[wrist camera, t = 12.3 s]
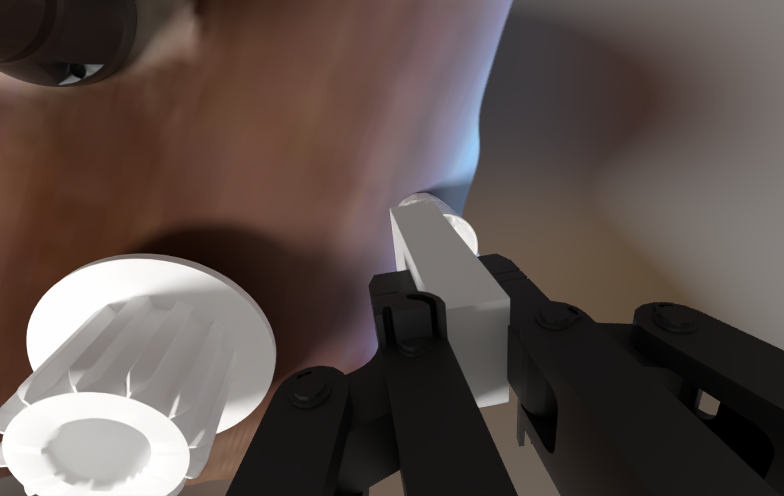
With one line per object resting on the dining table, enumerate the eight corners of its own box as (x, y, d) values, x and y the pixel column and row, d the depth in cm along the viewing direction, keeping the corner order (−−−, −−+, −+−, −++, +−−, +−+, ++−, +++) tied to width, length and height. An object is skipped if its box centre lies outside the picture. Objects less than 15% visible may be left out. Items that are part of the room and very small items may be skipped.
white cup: (415, 174, 46) (435, 198, 37) (463, 210, 49) (493, 241, 40) (375, 226, 48) (385, 261, 39) (424, 258, 51) (444, 298, 42)
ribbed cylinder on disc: (99, 408, 53) (-12, 567, 36) (36, 236, 43) (-158, 343, 26) (288, 392, 57) (270, 531, 39) (271, 230, 47) (237, 320, 29)
